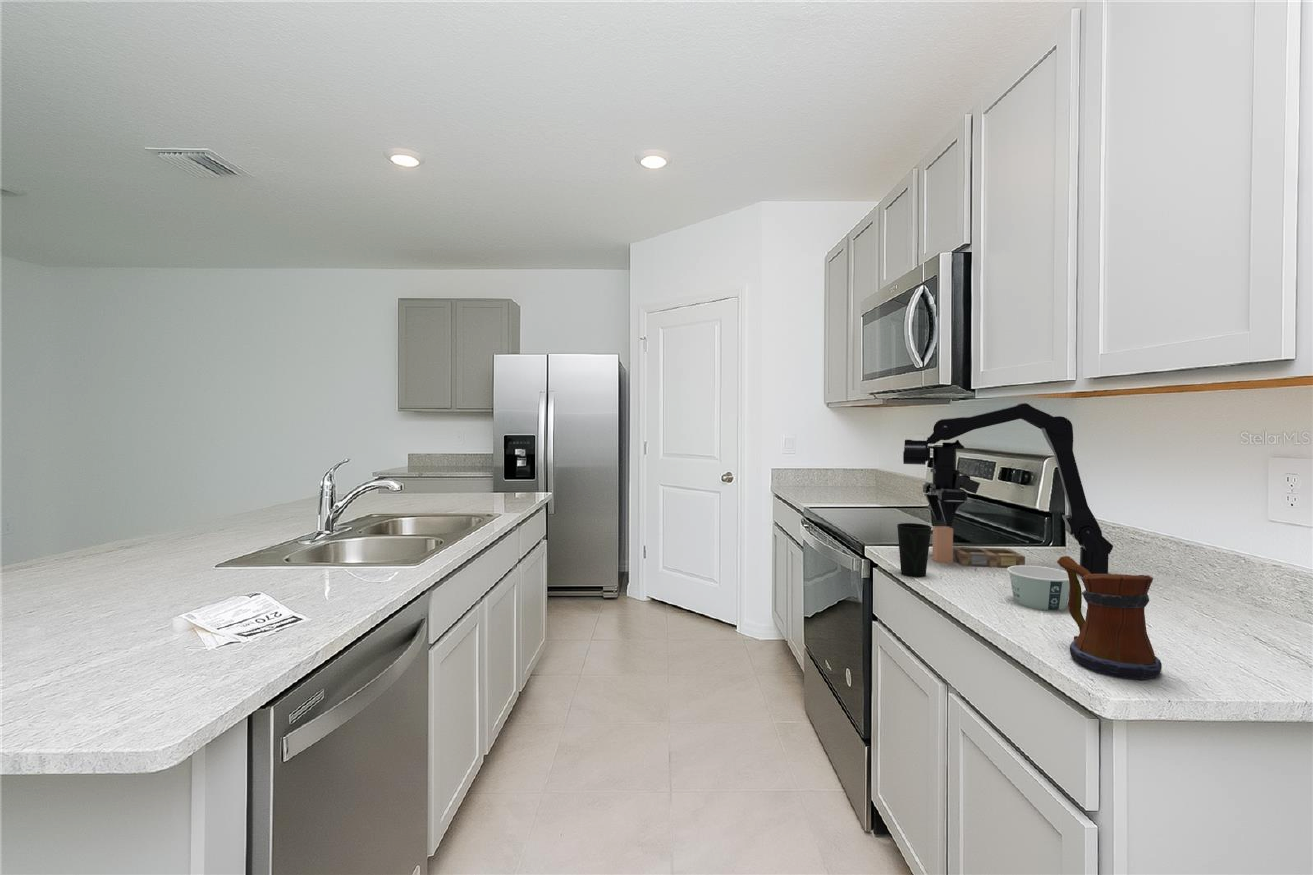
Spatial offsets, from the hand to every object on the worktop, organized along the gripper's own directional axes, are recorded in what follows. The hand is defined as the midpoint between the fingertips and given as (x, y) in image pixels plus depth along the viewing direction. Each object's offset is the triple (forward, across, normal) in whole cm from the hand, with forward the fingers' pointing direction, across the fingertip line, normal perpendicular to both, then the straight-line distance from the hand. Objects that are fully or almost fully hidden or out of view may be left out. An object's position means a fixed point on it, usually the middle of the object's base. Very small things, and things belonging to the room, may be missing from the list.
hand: (943, 523), depth 163 cm
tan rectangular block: (+10, 0, 0) cm, 10 cm away
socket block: (+10, 0, -11) cm, 15 cm away
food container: (+10, -37, -8) cm, 39 cm away
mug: (+10, -67, -4) cm, 68 cm away
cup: (+10, -17, +12) cm, 23 cm away
